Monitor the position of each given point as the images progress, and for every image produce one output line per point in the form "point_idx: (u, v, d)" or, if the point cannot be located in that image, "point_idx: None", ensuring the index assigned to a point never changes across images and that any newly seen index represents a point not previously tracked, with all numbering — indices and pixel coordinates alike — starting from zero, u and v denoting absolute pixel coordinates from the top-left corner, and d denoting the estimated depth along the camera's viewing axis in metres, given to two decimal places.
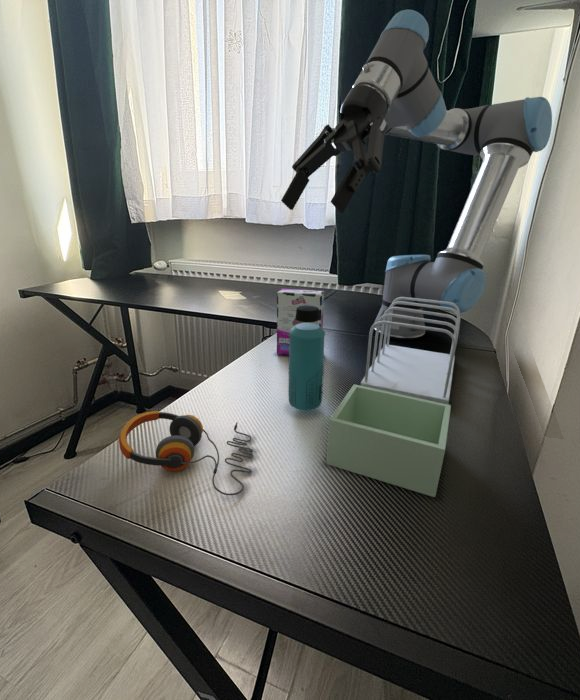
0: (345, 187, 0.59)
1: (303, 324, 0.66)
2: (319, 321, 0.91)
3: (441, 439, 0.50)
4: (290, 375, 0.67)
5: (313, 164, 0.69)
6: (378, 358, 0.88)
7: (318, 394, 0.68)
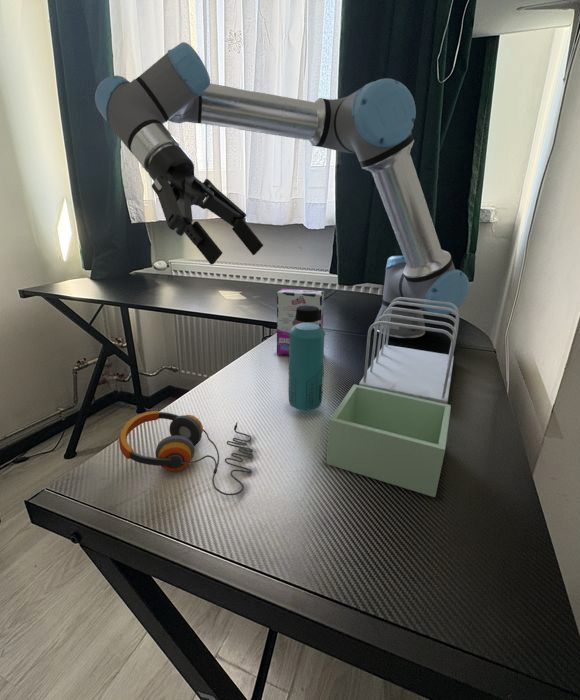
0: (201, 247, 0.61)
1: (303, 324, 0.66)
2: (319, 321, 0.91)
3: (441, 439, 0.50)
4: (290, 375, 0.67)
5: (226, 215, 0.71)
6: (377, 358, 0.88)
7: (318, 394, 0.68)
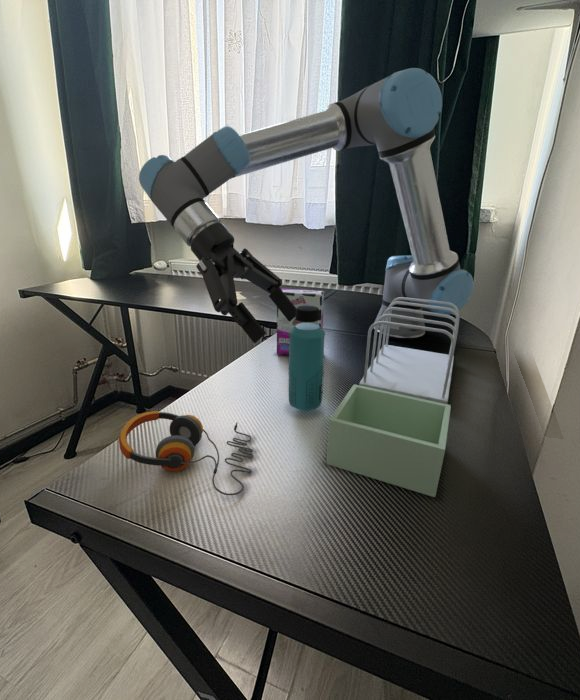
0: (245, 326, 0.62)
1: (303, 324, 0.66)
2: (319, 321, 0.91)
3: (441, 439, 0.50)
4: (290, 375, 0.67)
5: (263, 283, 0.73)
6: (377, 358, 0.88)
7: (318, 394, 0.68)
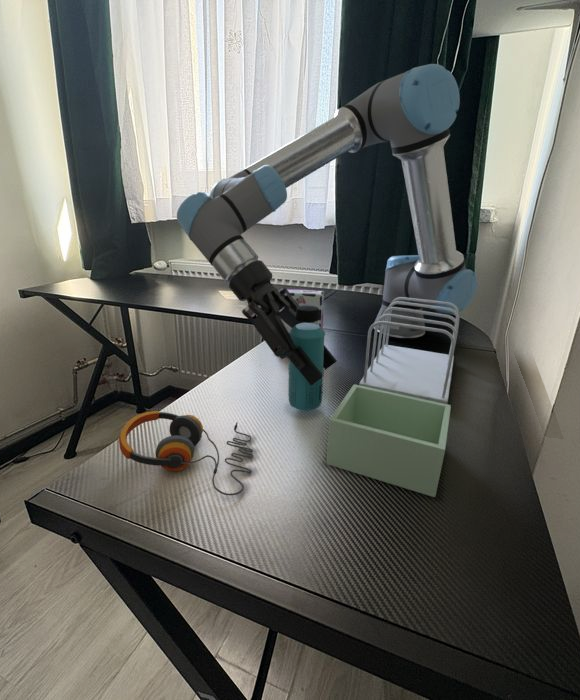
0: (302, 369, 0.64)
1: (303, 324, 0.66)
2: (319, 321, 0.91)
3: (441, 439, 0.50)
4: (290, 375, 0.67)
5: None
6: (377, 358, 0.88)
7: (318, 394, 0.68)
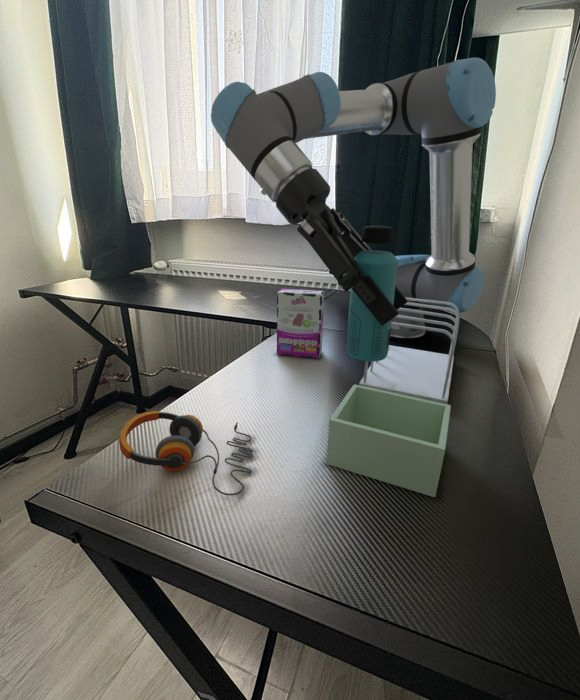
0: (371, 305, 0.50)
1: (370, 251, 0.52)
2: (319, 321, 0.91)
3: (441, 439, 0.50)
4: (352, 316, 0.54)
5: None
6: None
7: (386, 341, 0.54)
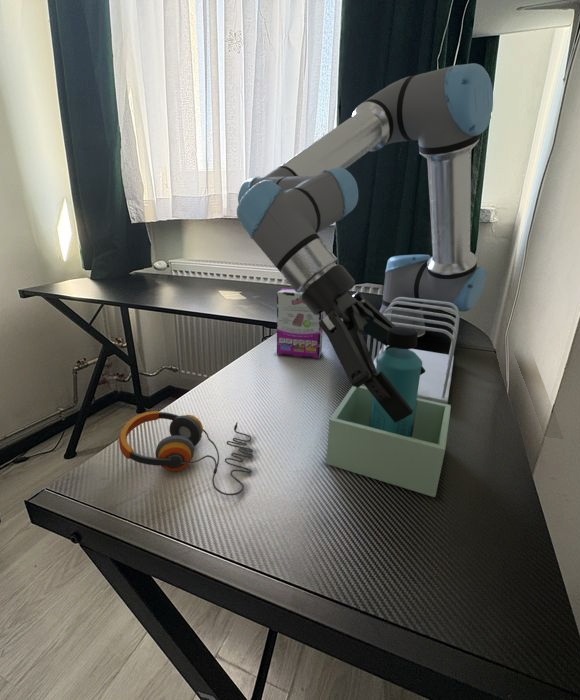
0: (383, 401, 0.48)
1: (393, 350, 0.54)
2: None
3: (441, 439, 0.50)
4: (376, 412, 0.55)
5: (381, 335, 0.59)
6: None
7: (409, 435, 0.55)
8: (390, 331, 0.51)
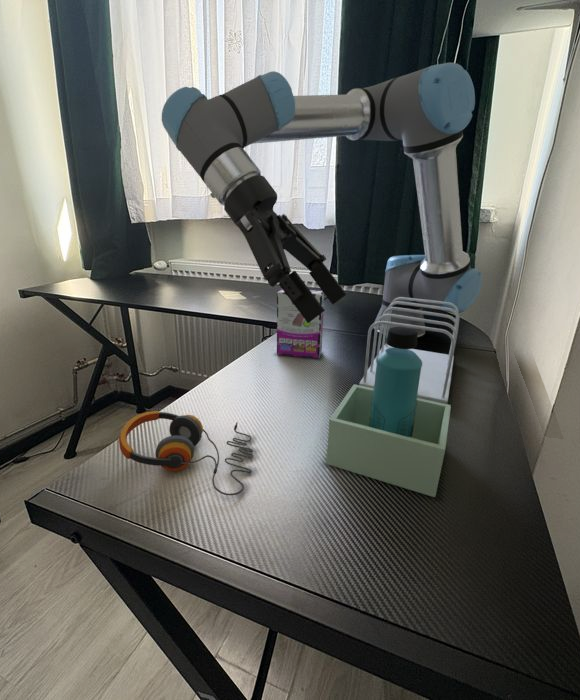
0: (297, 301, 0.49)
1: (393, 350, 0.54)
2: (319, 321, 0.91)
3: (441, 439, 0.50)
4: (376, 412, 0.55)
5: (305, 257, 0.60)
6: None
7: (409, 435, 0.55)
8: (390, 331, 0.51)
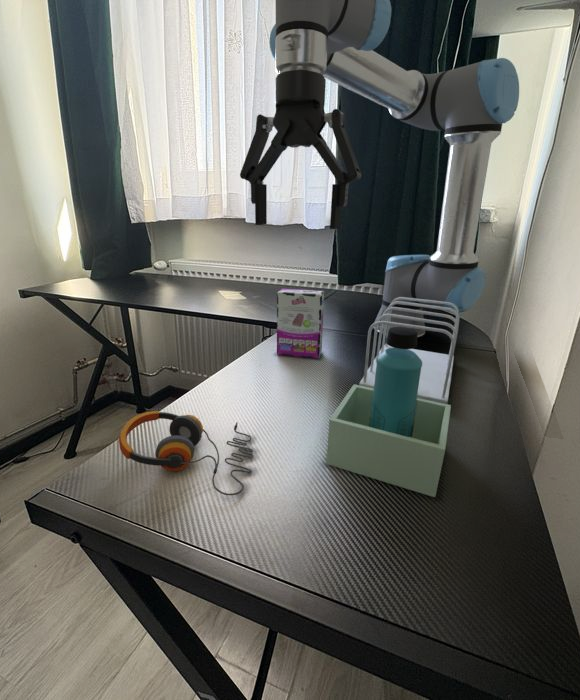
0: (336, 208, 0.59)
1: (393, 350, 0.54)
2: (319, 321, 0.91)
3: (441, 439, 0.50)
4: (376, 412, 0.55)
5: (266, 169, 0.62)
6: None
7: (409, 435, 0.55)
8: (390, 331, 0.51)
